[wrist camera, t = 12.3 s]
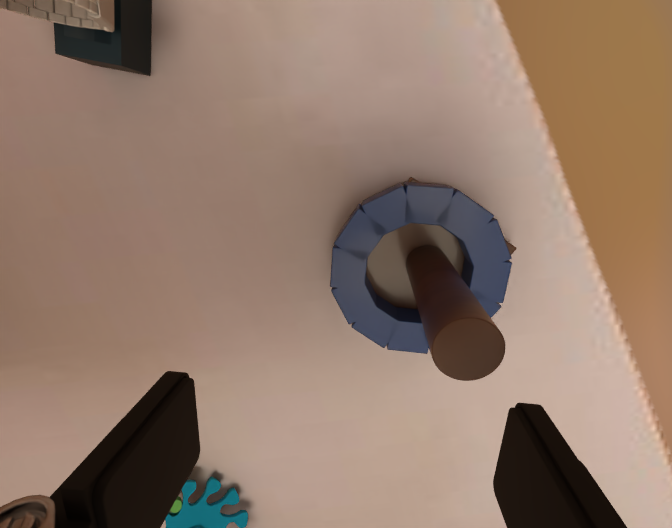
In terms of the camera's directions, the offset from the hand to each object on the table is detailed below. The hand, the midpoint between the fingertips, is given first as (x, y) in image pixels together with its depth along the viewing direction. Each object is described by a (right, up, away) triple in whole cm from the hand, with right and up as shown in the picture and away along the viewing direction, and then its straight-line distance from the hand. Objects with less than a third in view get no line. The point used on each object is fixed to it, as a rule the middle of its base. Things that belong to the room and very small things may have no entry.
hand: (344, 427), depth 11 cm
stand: (+7, +5, +17) cm, 19 cm away
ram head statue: (-15, +21, +14) cm, 30 cm away
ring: (+6, +5, +16) cm, 18 cm away
